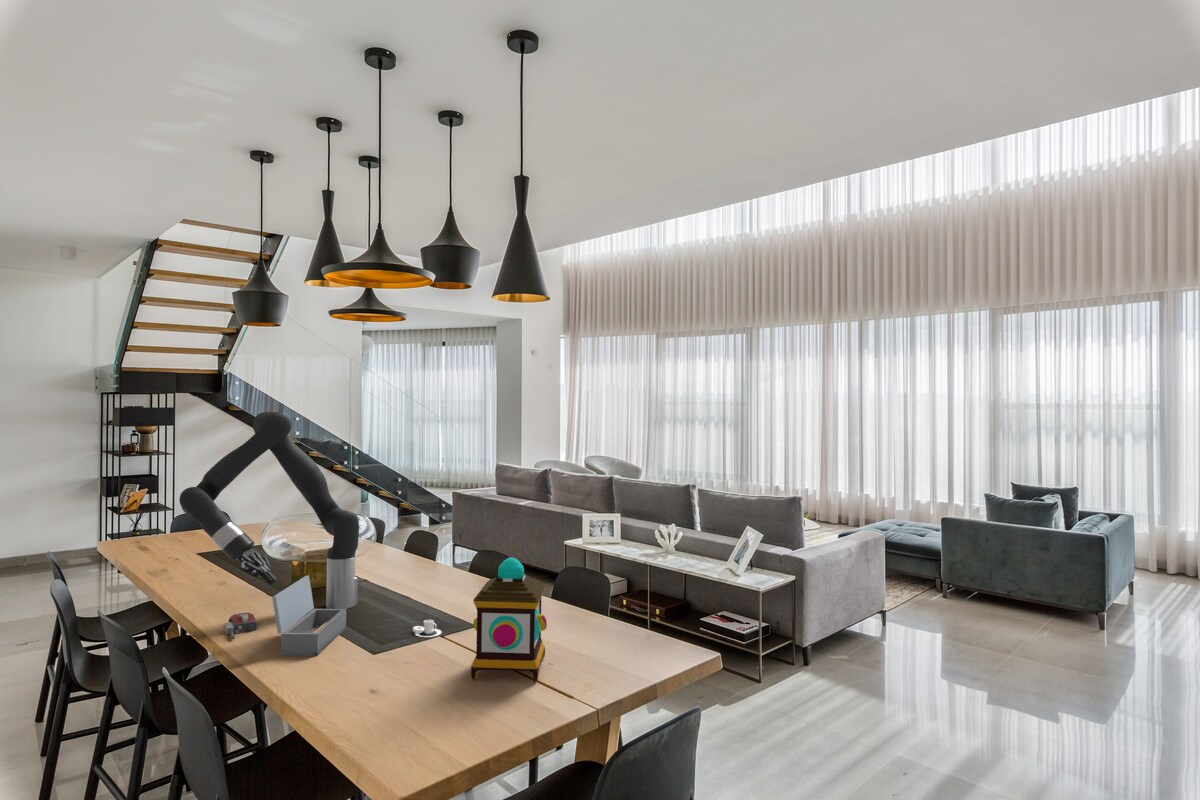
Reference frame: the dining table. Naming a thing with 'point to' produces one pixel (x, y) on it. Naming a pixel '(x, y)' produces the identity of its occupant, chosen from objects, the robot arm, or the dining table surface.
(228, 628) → the walkie-talkie
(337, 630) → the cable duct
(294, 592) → the duct lid
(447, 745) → the dining table surface
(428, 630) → the teacup and saucer
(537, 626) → the decorative lantern
